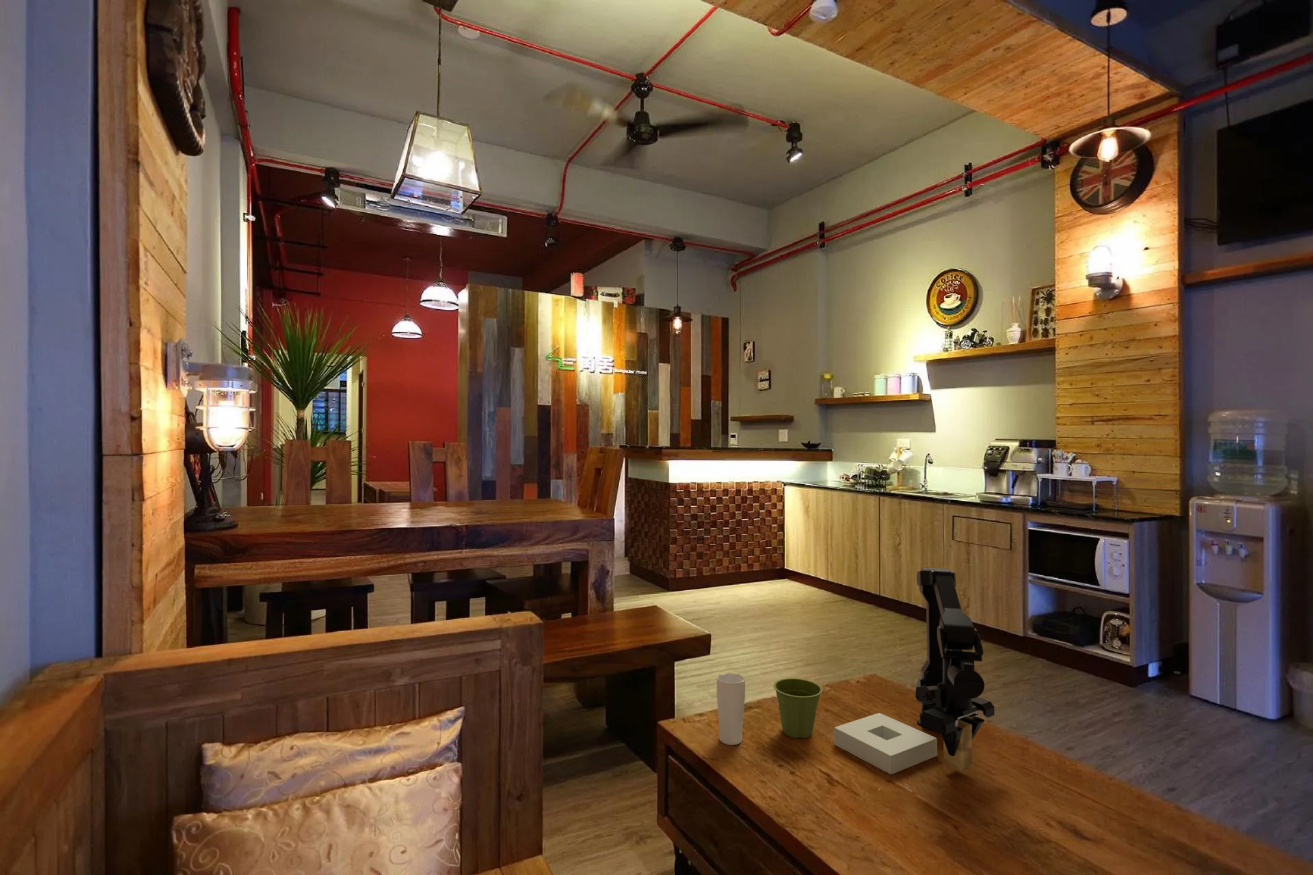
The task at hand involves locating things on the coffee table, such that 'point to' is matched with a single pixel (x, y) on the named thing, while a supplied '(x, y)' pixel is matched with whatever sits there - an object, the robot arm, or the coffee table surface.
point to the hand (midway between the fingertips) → (957, 752)
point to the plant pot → (797, 705)
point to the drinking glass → (730, 707)
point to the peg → (961, 749)
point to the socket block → (885, 742)
